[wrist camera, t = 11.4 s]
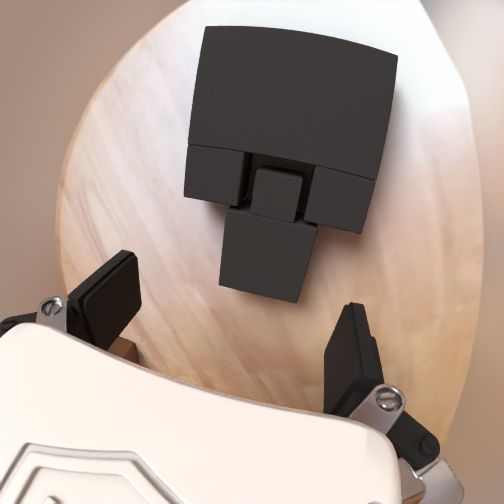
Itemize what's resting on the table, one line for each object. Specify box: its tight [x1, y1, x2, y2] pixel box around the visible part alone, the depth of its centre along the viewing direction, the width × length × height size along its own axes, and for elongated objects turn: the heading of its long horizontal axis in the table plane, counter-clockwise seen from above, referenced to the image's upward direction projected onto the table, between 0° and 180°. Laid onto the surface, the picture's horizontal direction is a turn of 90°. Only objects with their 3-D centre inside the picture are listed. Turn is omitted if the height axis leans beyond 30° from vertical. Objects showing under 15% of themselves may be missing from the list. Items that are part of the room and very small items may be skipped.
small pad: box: [219, 165, 317, 303], centre depth 16 cm, size 7×5×2 cm
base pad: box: [184, 26, 398, 234], centre depth 13 cm, size 10×10×2 cm
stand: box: [107, 336, 139, 364], centre depth 24 cm, size 4×4×6 cm
